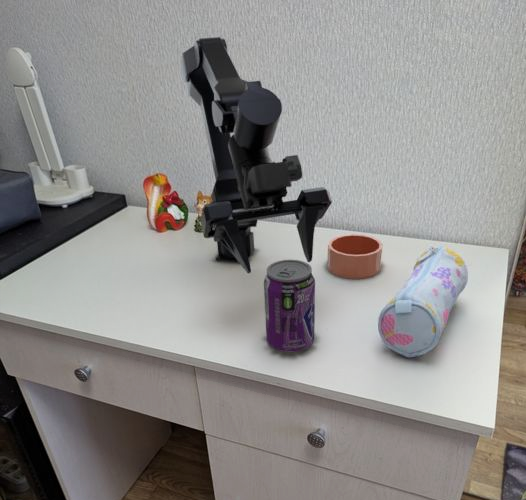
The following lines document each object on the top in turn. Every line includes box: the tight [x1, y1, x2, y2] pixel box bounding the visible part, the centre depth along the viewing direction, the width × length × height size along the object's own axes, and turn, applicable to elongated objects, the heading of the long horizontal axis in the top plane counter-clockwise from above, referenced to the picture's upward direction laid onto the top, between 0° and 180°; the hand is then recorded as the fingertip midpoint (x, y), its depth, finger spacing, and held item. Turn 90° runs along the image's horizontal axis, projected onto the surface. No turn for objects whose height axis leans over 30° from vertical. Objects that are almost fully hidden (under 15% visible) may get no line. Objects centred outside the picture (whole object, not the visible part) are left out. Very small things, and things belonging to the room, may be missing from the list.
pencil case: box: [377, 245, 469, 358], centre depth 73 cm, size 21×9×10 cm, turn 151°
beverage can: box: [263, 259, 316, 353], centre depth 70 cm, size 7×7×12 cm
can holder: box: [326, 233, 384, 280], centre depth 92 cm, size 10×10×4 cm
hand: (280, 266), depth 71 cm, fingers open, 9 cm apart
